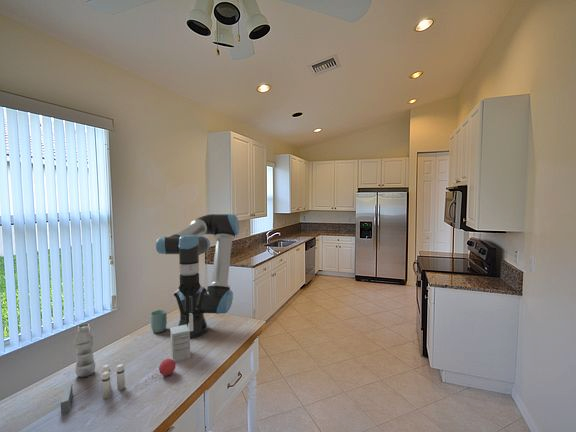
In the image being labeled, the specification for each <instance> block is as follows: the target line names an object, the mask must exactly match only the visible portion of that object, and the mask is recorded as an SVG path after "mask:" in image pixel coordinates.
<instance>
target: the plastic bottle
mask: <svg viewBox="0 0 576 432" xmlns="http://www.w3.org/2000/svg"><path fill="white" fill-rule="evenodd" d="M94 338H95V336H94V333H92V332H91V331H90V324H89V323H82V324H79V325H78V326H77V334H76V335H75V337H74V340H73V344H74V348H75V354H76V361H75V362H76V363H75V364H76V365H75V374H76V376H77V377H78V378H84V377H89V376H90V375H92V374H93V373H94V372H95V370H96V367H97V366H96V363H95V362H96V361H95V359H94V353H93V352H94Z"/></svg>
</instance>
